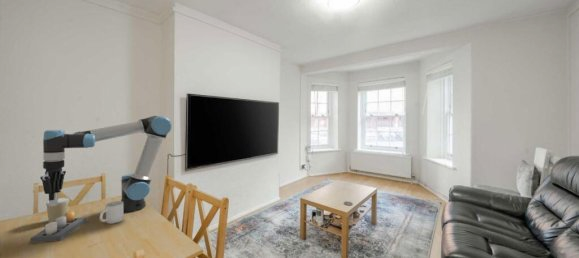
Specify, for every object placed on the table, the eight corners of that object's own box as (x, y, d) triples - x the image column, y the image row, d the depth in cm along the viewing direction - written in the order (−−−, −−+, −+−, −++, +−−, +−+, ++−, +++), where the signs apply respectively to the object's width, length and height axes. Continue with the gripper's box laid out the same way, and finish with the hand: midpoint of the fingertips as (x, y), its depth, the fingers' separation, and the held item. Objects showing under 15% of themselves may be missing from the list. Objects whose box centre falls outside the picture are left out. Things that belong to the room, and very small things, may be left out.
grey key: (68, 225, 122) (68, 216, 122) (62, 228, 118) (62, 219, 118) (59, 225, 121) (59, 216, 121) (53, 229, 117) (53, 220, 117)
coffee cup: (74, 217, 135) (73, 198, 135) (56, 225, 126) (56, 204, 125) (60, 216, 136) (59, 197, 136) (42, 223, 127) (41, 203, 126)
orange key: (76, 219, 128) (76, 211, 128) (71, 222, 125) (71, 214, 124) (68, 220, 128) (67, 211, 127) (62, 223, 124) (62, 214, 123)
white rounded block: (59, 231, 116) (58, 221, 116) (53, 235, 112) (52, 225, 112) (49, 231, 115) (49, 222, 115) (43, 235, 111) (43, 226, 111)
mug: (104, 228, 124) (103, 210, 124) (95, 225, 127) (94, 207, 127) (126, 219, 135) (126, 202, 135) (117, 216, 139) (117, 200, 138)
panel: (86, 221, 131) (86, 217, 131) (60, 240, 112) (60, 235, 111) (61, 223, 128) (61, 218, 128) (30, 242, 109) (30, 237, 109)
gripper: (55, 157, 120) (54, 201, 121) (33, 162, 107) (33, 210, 108) (72, 158, 122) (71, 200, 123) (52, 162, 109) (51, 210, 110)
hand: (53, 205), depth 115 cm, fingers closed
